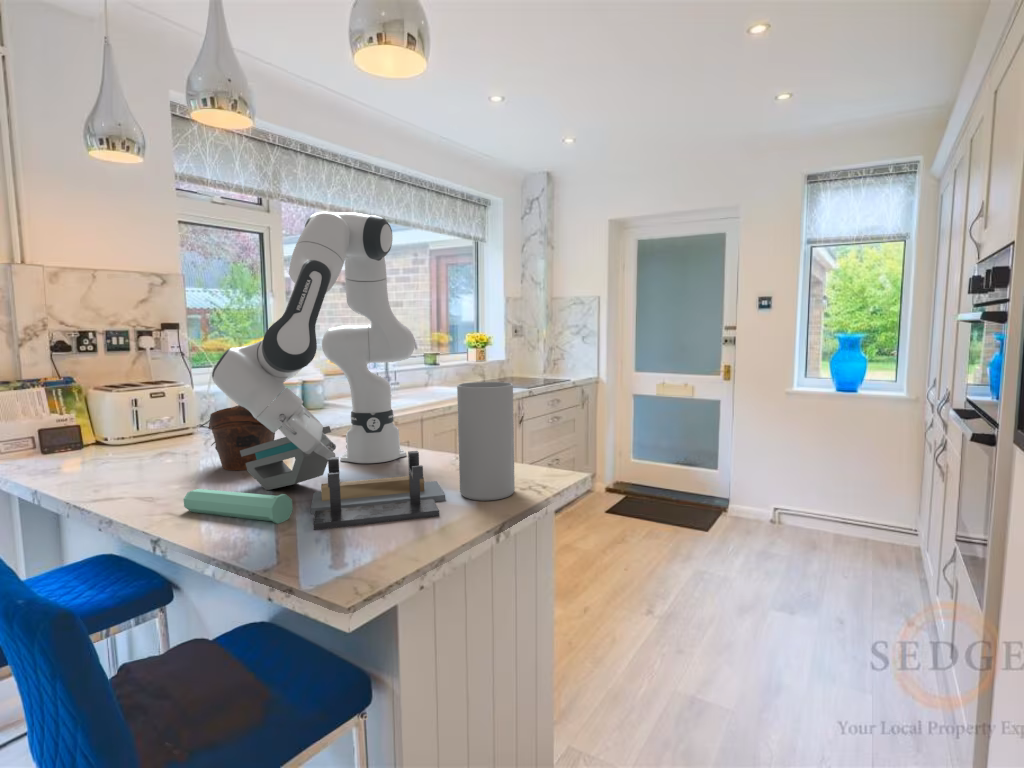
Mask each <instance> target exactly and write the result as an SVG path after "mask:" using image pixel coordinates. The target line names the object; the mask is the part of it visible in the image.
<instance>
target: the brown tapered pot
mask: <svg viewBox="0 0 1024 768" xmlns="http://www.w3.org/2000/svg"><path fill="white" fill-rule="evenodd" d="M208 429H210V430H211V432H212V435H213V439H214V442H213V443H211V445H210V446H211V447H212V446H213V445H215V447H214V448H215V450H216V452H217V454H218V457H219V460H220V463H221V467H222V469H224V470H227V471H245V470H246V471H247V467H246V463H248V462H251V461H255V460H257V459H256V455H255V454H250V455H246V456H242V457H241V454H240V450H244V449H247V448H250V447H253V446H257V445H260V444H263V443H267V442H270V441H273V440H275V435H276V432H275V433H273V432H272V431H270V430H269V429H268V428H267V427H265V426H264V425H263V424H262V423H260V422H259V421H258V420H257V419H255V418H254V417H253V415H252V414H251V412H250V411H249V410H247V409H246V408H244V407H242V406H239V405H238V404H237V405H235V406H231V407H226V408H223V409H218V410H216V411H214V412H212V413H210V416H209V423H208Z"/></svg>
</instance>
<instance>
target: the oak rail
mask: <svg viewBox="0 0 1024 768" xmlns="http://www.w3.org/2000/svg"><path fill="white" fill-rule="evenodd" d="M424 482H425V477H424V476H423V479H420V491H424ZM320 492H321V495H322V501H328V500H330V488H329V487H328V482H327V483H321V487H320ZM400 493H409V475H406V476H396V477H395V476H394V477H393V476H392V477H384V478H382V477H381V478H371V479H359V480H352V481H351V480H349V481H347V480H346V481H340V495H341V499H348V498H359V497H369V496H379V495H389V494H400Z"/></svg>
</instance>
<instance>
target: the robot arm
mask: <svg viewBox="0 0 1024 768" xmlns="http://www.w3.org/2000/svg"><path fill="white" fill-rule="evenodd" d="M304 224H305V225H304V228H303V230H302V231H301V233H300V235H299V237H298V239H297V242H296V244H295V247H294V249H293V252H292V255H291V258H290V262H289V268H288V269H289V270H288V275H289V278H290V279H291V281H292V282H293V283H294V286H293V289H292V292H291V295H290V297H289V301H288V303H287V305H286V307H285V310H284V312H283V314H282V316H281V317H280V318H278V320H276V321H275V322H274V323H272V325H270V327H269V328H268V329H267V330H266V332H265V333H264V335H263V339H261V340H259V341H257V342H255V343H252V344H249V345H248V344H247V345H245V346H239V347H230V348H229V349H227V350H226V351H225V352H224V353H223V354H222V355H221V357H220V358H219V359H218V361H217V362H216V364H215V366H214V367H213V370H212V374H211V378H212V381H213V383H214V384H215V385H216V386H217V387H218V388H219V390H221V392H223V394H224V395H226V396H227V397H228V398H229V399H230V400H232V401H233V402H234V403H236V404H237V406H238V405H239V406H242V407H244V408H246V409H247V410H249V411H250V412H251V414H252V415H253V417H254V418H255V419H257V420H258V421H259V422H260V423H262V424H263V425H264V426H265V427H267V428H268V429H269V430H270V431H272V432H273V433H275V434H276V433H277V432H278V430H279V431H280V432H281V434H283V436H284V437H287V438H288V439H289V440H290V441H291V442H292V443H293V444H295V445H296V446H297V447H298V448H299V449H301V450H302V451H303V452H305V453H306V454H310V453H311V452H312V451H314V452H315V453H317V454H319V455H321V456H322V457H324V458H326V459H327V460H328V458H330V457H336V453H335V452H334V451H335V450H336V448H337V445H336V444H335V443H334V442H333V441H331V439H330V438H329V437H328V436H327V435H326V434H324V433H323V432H322V431H323V427H324V425H323V424H322V423H321V422H320V420H318V418H316V416H315V415H314V414H313V413H311V411H309V410H308V408H306V407H305V406H304V405H303V403H304V400H302V399H301V398H300V397H299V396H297V395H296V393H295V392H293V391H292V390H290V389H289V388H288V387H287V386H286V385H285V384H284V382H286V381H288V380H290V379H292V378H294V377H295V376H296V375H297V374H298V373H299V372H300V371H301V370H302V369H304V368H306V367H307V366H308V365H309V364H310V363H311V362H312V361H313V360H314V358H315V356H316V353H317V345H318V344H317V343H318V342H317V334H316V326H317V325H316V324H317V320H318V317H319V315H320V311H321V308H322V306H323V303H324V300H325V296H326V295H327V293H328V292H330V291H331V289H332V288H333V286H334V285H335V284H336V282H337V279H338V278H339V276H340V274H341V272H342V269H343V267H344V278H345V279H344V280H345V293H346V294H345V295H346V296H345V297H346V303H347V306H348V307H349V309H351V310H352V311H353V312H355V313H356V314H358V315H361V316H363V317H365V318H366V319H368V320H369V322H370V324H346V325H345V324H344V325H338V326H334V327H331V328H328V329H327V330H326V331H325V332H324V335H323V338H322V340H321V347H322V352H323V354H324V355H325V357H326V358H327V359H328V360H329V361H330V362H331V363H333V364H334V365H335V366H337V367H338V368H339V369H340V370H341V371H342V372H343V374H344V376H345V378H346V379H347V382H348V385H349V390H350V396H351V397H350V399H351V406H352V407H351V408H352V411H351V412H350V423H351V427H349V429H348V431H346V434H345V443H346V446H345V447H346V450H345V452H344V453H343V454H342V455H341V456H340V458H339V462H340V461H341V462H348V463H349V462H350V463H353V464H354V463H355V464H378V463H385V462H390V461H393V460H397V459H399V458H403V457H408V454H407V452H406V451H405V450H403V449H402V448H401V443H400V429H399V428H398V427H397V425H395V424H394V409H392V395H391V393H392V392H391V391H392V389H391V384H390V382H389V381H388V380H387V379H386V378H384V377H383V376H382V375H381V376H380V375H378V374H376V373H374V372H371V370H370V369H369V368H368V364H373V363H374V364H376V363H377V364H378V363H380V364H382V363H395V362H401V361H405V360H408V359H409V358H410V357H411V356H412V355H413V353H414V351H415V348H416V347H415V346H416V342H415V341H416V340H415V336H414V334H413V332H412V331H411V329H409V327H407V326H406V325H404V324H403V323H402V322H401V321H400V320H399V319H398V318H397V317H396V316H395V314H394V313H393V311H392V309H391V306H390V301H389V295H388V294H389V293H388V280H387V267H386V266H387V265H386V259H385V256H387V255H388V253H390V251H391V248H392V247H393V230H392V229H393V228H392V227H391V224H390V223H389V222H388V220H387V219H386V218H383V217H381V216H379V215H375V214H371V215H369V214H365V213H360V212H359V213H358V212H351V211H348V212H328V211H319V212H315V213H313V214H311V215H310V216H309V217H308V219H307V220H306V222H305V223H304Z"/></svg>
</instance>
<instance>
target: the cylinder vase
mask: <svg viewBox="0 0 1024 768" xmlns="http://www.w3.org/2000/svg"><path fill="white" fill-rule="evenodd" d="M456 390H457V391H456V393H457V395H456V397H457V430H458V431H457V433H458V434H457V435H458V462H459V463H458V469H459V493H460V495H461V496H463V497H464V498H466V499H469V500H471V501H472V500H473V501H485V502H486V501H488V502H489V501H498V500H502V499H505V498H509V497H510V496H512V495H513V494H514V492H515V491H516V490H515V487H516V486H515V434H514V433H515V428H514V426H515V424H514V422H515V421H514V384H513V383H510V382H504V381H503V382H502V381H479V382H478V381H477V382H476V381H475V382H465V383H464V382H463V383H459V384H457V385H456Z"/></svg>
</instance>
